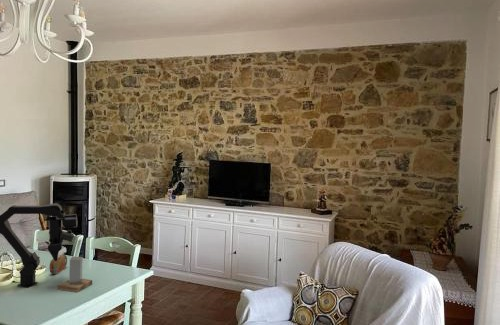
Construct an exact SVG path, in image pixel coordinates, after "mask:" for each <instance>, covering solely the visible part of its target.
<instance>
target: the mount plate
mask: <svg viewBox="0 0 500 325" xmlns="http://www.w3.org/2000/svg"><path fill="white" fill-rule="evenodd" d="M91 285H93V279H86V278H82V281H81V283H80V284H75V285H69V279H68V280H66V281H64V282H62V283H60V284H58V285H57V290H58V291H59V290H60V291H66V292H72V293H78V292H81V291H82V290H84V289H86V288H87V287H90V286H91Z"/></svg>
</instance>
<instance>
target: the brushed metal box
mask: <svg viewBox="0 0 500 325" xmlns="http://www.w3.org/2000/svg"><path fill="white" fill-rule="evenodd" d="M83 257H84V256H71V258H70V259H69V270H68V271H69V274H68V275H69V276H68V278H69V279H68V280H69V285H75V284H80V283H81V281H82V279H83Z"/></svg>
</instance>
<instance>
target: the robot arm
mask: <svg viewBox="0 0 500 325" xmlns="http://www.w3.org/2000/svg"><path fill="white" fill-rule="evenodd" d="M14 215H44V216H46V217H45V218H44V220H43V221H45V222H48V235H49V236H48V237H49V238H48V242H49V243H48V244H47V251H48V252H49V254H50V255H51V257H52V259H54V261H57V258H58V256H59V252H60V251H61V250H62V249H63V242H64V241H65V242H66V241H67V242H68V243H72V242H73V239H74V237H75V234H74V233H73V232H72V229H69V228H77V227H78V216H77V213H72V214H67V213H66V212H65V211H64V210H63V209H62V205H60V204H59V203H57V202H54V203H49V204H44V205H15V204H13V205H11V206H9V207H8V209H6V210H5V211H4V212H3V213H2V214H0V235H1V236H3V238H4V239H5V240H6V241H7V242H8V244H9V245H10V246H11V248H12V249H13V251H15V252H16V254H17V255H18V256H19V258H20V260H21V263H22V268H21V269H20V270H19V275H20V276H19V278H20V279H19V283H18V284H17V287H22V288H30V287H32V286H34V285H36V284H38V281H36V270H37V269H38V267H39V266H40V264H41V260H40V256H39V255H37V252H36V251H33V252H31V251H30V250H28V248H27V246H25V244H24V243H23V242H22V241H21V239H20V238H19V237H18V235H17V234H16V233H15V232H14V231H13V229H12V226H11V224H10V221H9V219H11V218H12V217H13V216H14ZM63 227H64V228H65V229H68V230H67V231H63V229H62V228H63Z"/></svg>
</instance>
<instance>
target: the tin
mask: <svg viewBox="0 0 500 325" xmlns="http://www.w3.org/2000/svg"><path fill="white" fill-rule="evenodd" d="M67 264H68V257H67V255H66V254H58V258H57V261H54V259H53V258H52V259H51V260H50V262H49V273H50V274H52V275H57V274H59V273H61V272H62V271H64V270H65V269H66V267H67Z"/></svg>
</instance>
